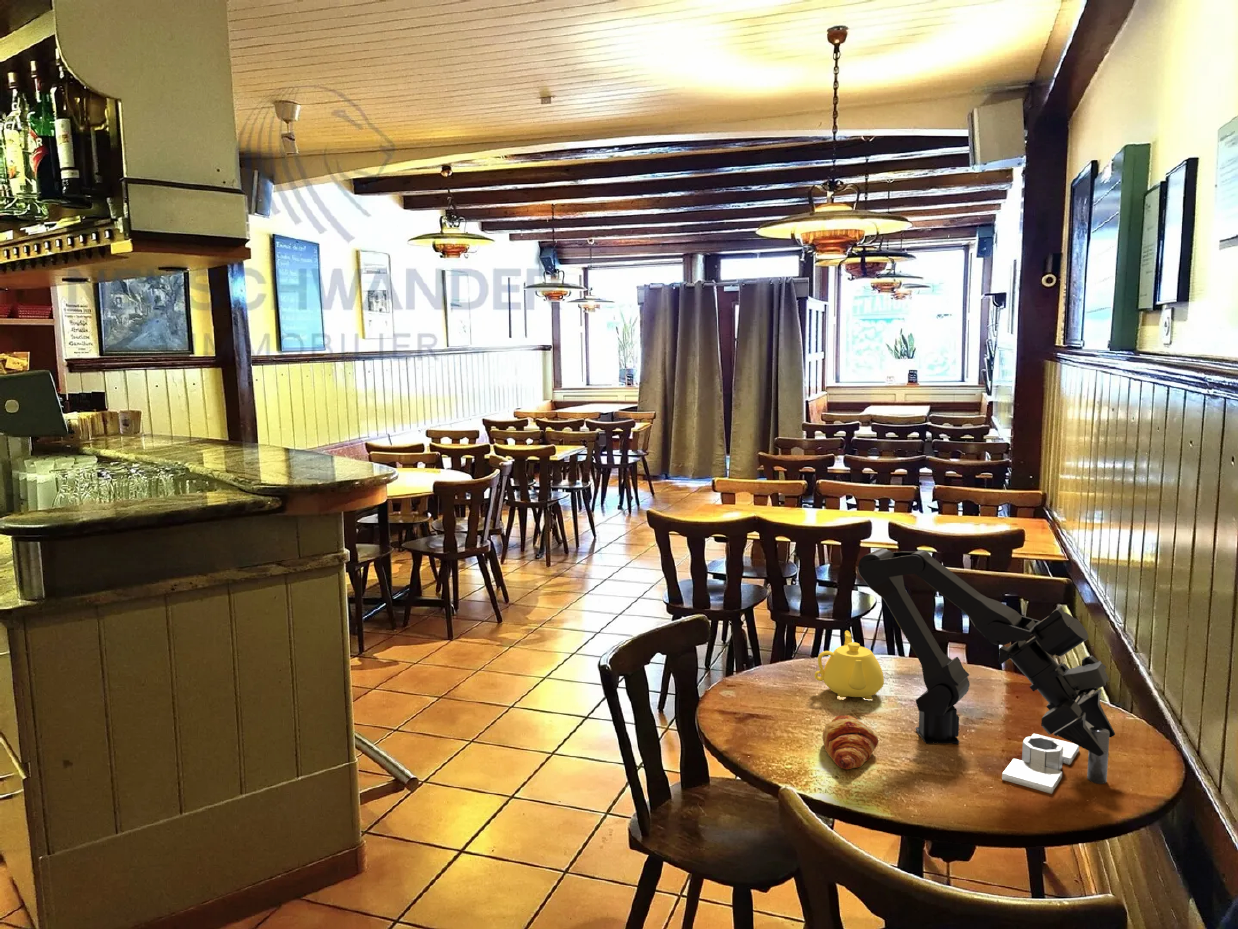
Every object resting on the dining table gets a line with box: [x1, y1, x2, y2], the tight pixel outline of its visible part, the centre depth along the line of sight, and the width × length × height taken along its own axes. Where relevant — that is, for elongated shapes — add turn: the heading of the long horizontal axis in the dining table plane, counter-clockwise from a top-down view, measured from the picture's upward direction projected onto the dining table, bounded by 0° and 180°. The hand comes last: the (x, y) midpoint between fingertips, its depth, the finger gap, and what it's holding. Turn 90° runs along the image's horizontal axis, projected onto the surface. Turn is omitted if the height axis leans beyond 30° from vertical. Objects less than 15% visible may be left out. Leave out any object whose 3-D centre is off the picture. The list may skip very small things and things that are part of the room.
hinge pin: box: [1086, 727, 1110, 785], centre depth 150 cm, size 3×3×9 cm
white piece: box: [1001, 733, 1080, 795], centre depth 156 cm, size 8×20×4 cm, turn 140°
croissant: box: [821, 715, 879, 770], centre depth 162 cm, size 21×10×8 cm, turn 164°
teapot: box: [814, 630, 885, 699], centre depth 189 cm, size 20×15×12 cm
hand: (1107, 745), depth 149 cm, fingers open, 9 cm apart
